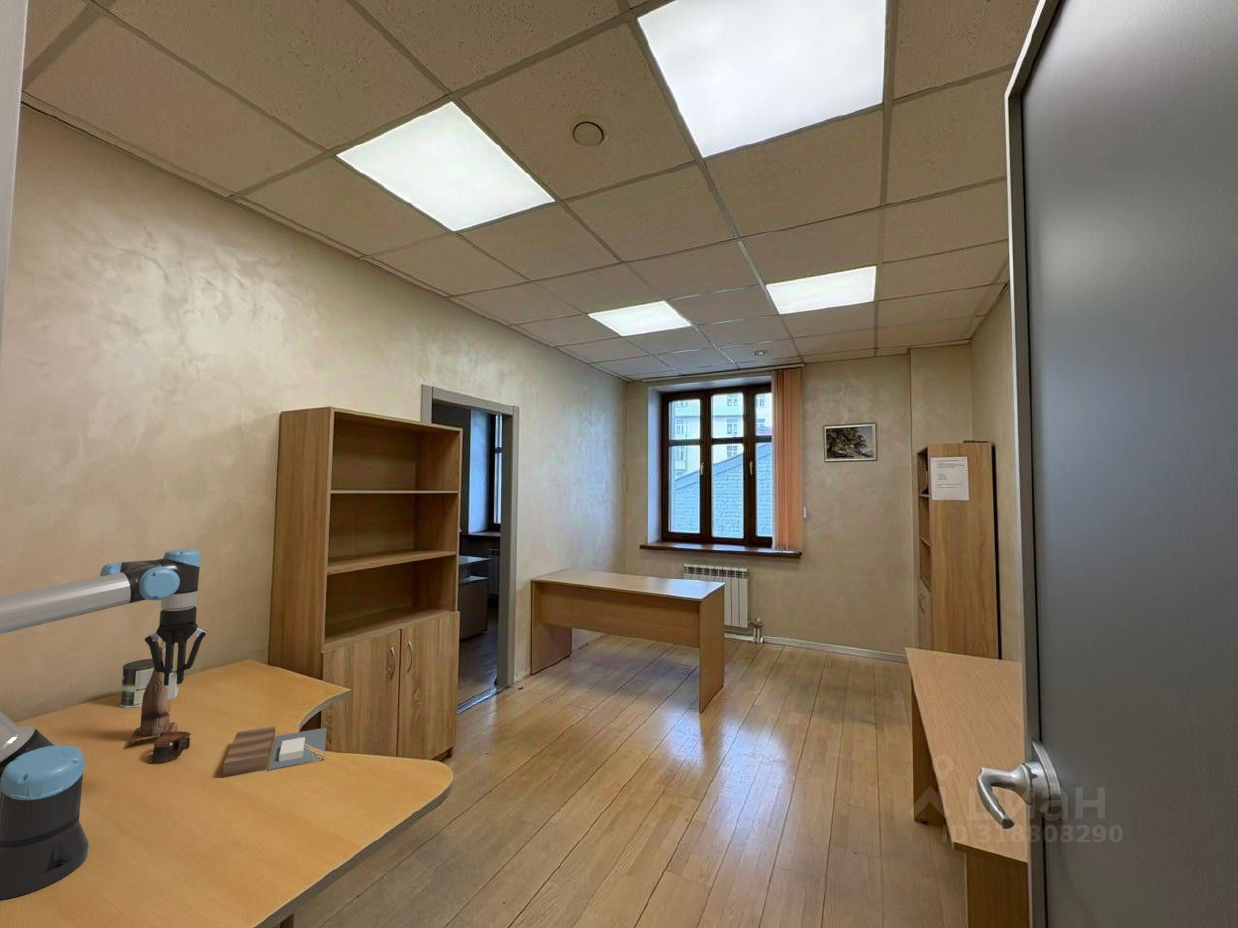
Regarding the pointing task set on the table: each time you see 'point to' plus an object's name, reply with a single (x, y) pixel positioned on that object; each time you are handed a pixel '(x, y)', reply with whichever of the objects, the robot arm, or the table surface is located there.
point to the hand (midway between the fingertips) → (172, 696)
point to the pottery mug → (165, 750)
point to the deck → (249, 751)
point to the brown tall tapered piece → (155, 707)
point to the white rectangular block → (292, 749)
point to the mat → (312, 739)
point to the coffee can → (135, 682)
